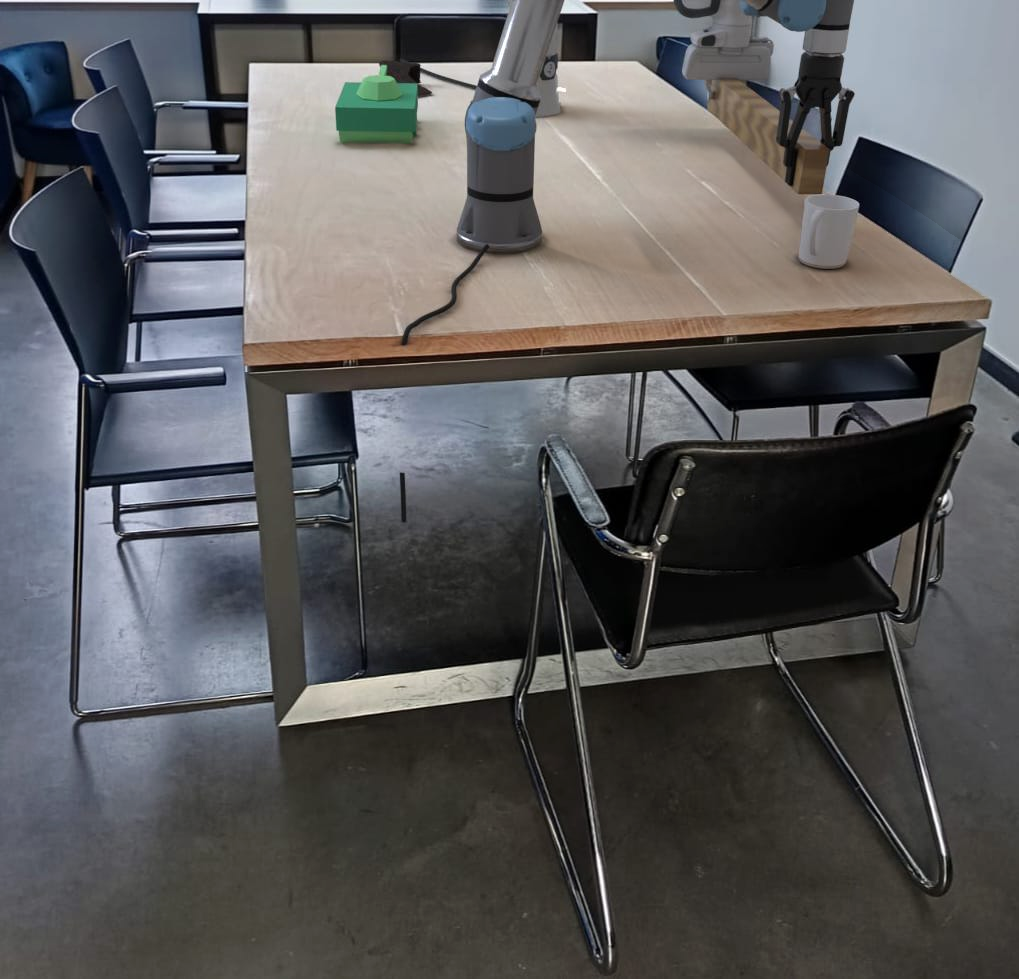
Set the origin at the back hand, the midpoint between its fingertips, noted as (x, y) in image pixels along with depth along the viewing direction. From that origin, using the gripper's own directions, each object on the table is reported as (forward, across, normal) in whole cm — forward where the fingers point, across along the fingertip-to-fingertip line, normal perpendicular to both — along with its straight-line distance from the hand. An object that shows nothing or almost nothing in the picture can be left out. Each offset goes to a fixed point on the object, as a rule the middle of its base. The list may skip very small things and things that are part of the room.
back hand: (722, 99), depth 257 cm
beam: (+3, 0, +30) cm, 30 cm away
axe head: (+10, +75, -53) cm, 92 cm away
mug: (+9, +3, +85) cm, 86 cm away
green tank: (+10, +80, -11) cm, 82 cm away
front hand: (+2, 0, +60) cm, 60 cm away
